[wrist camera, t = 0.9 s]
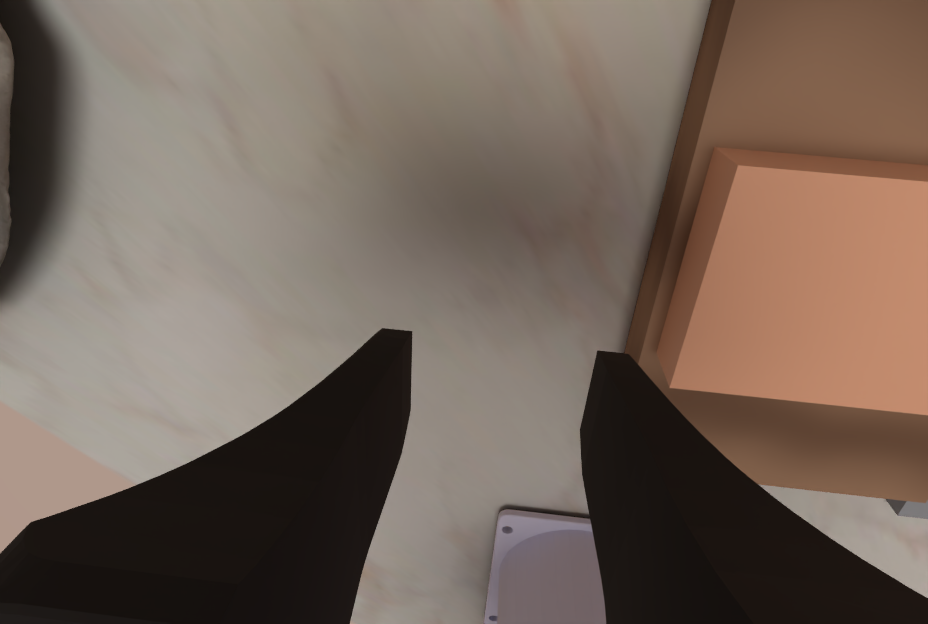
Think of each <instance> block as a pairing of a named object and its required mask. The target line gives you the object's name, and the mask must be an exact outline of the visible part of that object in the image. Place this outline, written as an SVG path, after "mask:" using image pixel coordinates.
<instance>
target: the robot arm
mask: <svg viewBox="0 0 928 624" xmlns="http://www.w3.org/2000/svg"><path fill="white" fill-rule="evenodd" d="M411 363H412V331H404V330H394V329H385V328H382V329H381V330H380V331H378V332H377V333H376V334H375V335H374V336H373V337H372V338H370V339H369V340H368V341H367V342H366V343H365V344H364V345H363V346H362V347H361V348H360V349H358V350H357V351H356V352H355V353H354V354H353V355H352V356H351V357H350V358H348V359H347V360H346V361H345V362H344V363H343V364H341V365H340V366H339V367H338V368H337V369H336V370H334V371H333V372H332V373H331V374H330V375H328V376H327V377H326V378H325V379H324V380H322V381H321V382H320V383H319V384H317V385H316V386H315V387H314V388H312V389H311V390H310V391H308V392H307V393H306V394H304V395H303V396H302V397H300V398H299V399H298V400H296V401H295V402H294V403H292V404H291V405H290V406H288V407H287V408H285V409H284V410H282V411H281V412H279V413H278V414H276V415H275V416H273V417H272V418H270V419H268V420H267V421H265V422H263V423H262V424H260V425H258V426H257V427H255V428H254V429H252V430H250V431H249V432H247V433H245V434H243V435H242V436H240V437H238V438H236V439H234V440H232V441H230V442H228V443H226V444H224V445H222V446H220V447H219V448H217V449H215V450H213V451H211V452H209V453H207V454H205V455H203V456H201V457H199V458H197V459H195V460H193V461H191V462H189V463H187V464H185V465H183V466H180V467H178V468H176V469H174V470H171V471H169V472H167V473H165V474H162V475H160V476H158V477H155V478H153V479H150V480H148V481H145V482H143V483H141V484H138V485H136V486H133V487H131V488H129V489H126V490H123V491H121V492H118V493H115V494H113V495H110V496H107V497H104V498H101V499H99V500H96V501H93V502H90V503H87V504H84V505H81V506H78V507H75V508H72V509H69V510H67V511H64V512H61V513H58V514H55V515H52V516H49V517H46V518H43V519H40V520H36V521H33V522H31V523H30V524H29V525H28V526H27V527H26V528H25V529H24V530H23V531H22V532H21V533H20V534H19V535H18V536H17V537H16V538H15V539H14V540H13V541H12V542H11V543H10V544H9V545H8V546H7V547H6V548H5V549H4V550H3V551H2V553H1V554H0V624H350V620H351V616H352V611H353V607H354V603H355V599H356V595H357V590H358V586H359V582H360V578H361V574H362V570H363V567H364V563H365V560H366V557H367V553H368V550H369V547H370V544H371V541H372V538H373V535H374V533H375V530H376V527H377V524H378V521H379V518H380V515H381V512H382V509H383V506H384V504H385V501H386V498H387V495H388V492H389V489H390V486H391V483H392V480H393V477H394V474H395V471H396V469H397V466H398V463H399V460H400V457H401V454H402V449H403V444H404V440H405V435H406V430H407V425H408V421H409V416H410V409H411ZM580 439H581V460H582V475H583V481H584V487H585V493H586V498H587V504H588V510H589V515H590V519H587V518H578V517H570V516H561V515H553V514H544V513H536V512H527V511H519V510H511V509H506V510H503V511H501V512H500V513H499V515H498V520H497V527H496V534H495V542H494V549H493V556H492V563H491V571H490V578H489V585H488V592H487V600H486V607H485V614H484V621H483V624H928V598H926V597H924V596H923V595H921V594H919V593H917V592H916V591H914V590H912V589H910V588H909V587H907V586H905V585H904V584H902V583H900V582H899V581H897V580H895V579H894V578H892V577H891V576H889V575H887V574H886V573H884V572H882V571H881V570H879V569H877V568H876V567H874V566H873V565H871V564H869V563H868V562H866V561H864V560H863V559H861V558H860V557H858V556H857V555H855V554H854V553H852V552H850V551H849V550H847V549H846V548H844V547H843V546H841V545H840V544H838V543H837V542H835V541H834V540H832V539H831V538H829V537H828V536H826V535H825V534H824V533H822V532H821V531H819V530H818V529H816V528H815V527H814V526H812V525H811V524H809V523H808V522H807V521H805V520H804V519H802V518H801V517H799V516H798V515H797V514H795V513H794V512H792V511H791V510H790V509H788V508H787V507H786V506H784V505H783V504H782V503H781V502H779V501H778V500H777V499H775V498H774V497H773V496H771V495H770V494H769V493H768V492H766V491H765V490H764V489H763V488H762V487H760V486H759V485H758V484H757V483H756V482H754V481H753V480H752V479H751V478H749V477H748V476H747V475H746V474H745V473H743V472H742V471H741V470H740V469H739V468H737V467H736V466H735V465H734V464H733V463H732V462H731V461H730V460H728V459H727V458H726V457H725V456H724V455H723V454H722V453H721V452H720V451H719V450H718V449H717V448H716V447H715V446H714V445H713V444H711V443H710V442H709V441H708V440H707V439H706V438H705V437H704V436H703V435H702V434H701V433H700V432H699V431H698V430H697V429H696V428H695V427H694V426H693V425H692V424H691V423H690V422H689V421H688V420H687V419H686V418H685V417H684V416H683V414H682V413H681V412H680V411H679V410H678V409H677V408H676V407H675V406H674V405H673V404H672V403H671V401H670V400H669V399H668V398H667V397H666V396H665V395H664V394H663V393H662V391H661V390H660V389H659V388H658V387H657V386H656V385H655V383H654V382H653V381H652V380H651V379H650V378H649V377H648V375H647V374H646V373H645V372H644V371H643V370H642V368H641V367H640V366H639V365H638V364H637V363H636V361H635V360H634V359H633V358H632V357H631V356H630V355H629V354H625V353H615V352H606V351H597V355H596V360H595V364H594V369H593V373H592V378H591V382H590V387H589V392H588V396H587V401H586V405H585V410H584V414H583V419H582V423H581V428H580ZM505 526H509V527H505Z"/></svg>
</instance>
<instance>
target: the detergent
mask: <svg viewBox="0 0 928 624" xmlns="http://www.w3.org/2000/svg"><path fill="white" fill-rule="evenodd" d="M14 64H15V63H14V56H13V51H12V45H11V41H10V39H9V38H8V36H7V34H6V32H5V31H4V29H3V27H2V25H1V24H0V268H1V265H2V263H3V260H4V258H5V256H6V253H7V252H6V251H7V249H8V246H9V243H8V242H9V237H10V226H11V221H12V219H11V217H10V211H11V208H10V196H9V194H8V188H9V172H8V166H9V155H10V132H9V129H10V107H11V101H12V96H13V73H14Z"/></svg>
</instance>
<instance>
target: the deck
mask: <svg viewBox="0 0 928 624" xmlns="http://www.w3.org/2000/svg"><path fill="white" fill-rule="evenodd" d="M714 147H720V148H732V149H743V150H755V151H767V152H778V153H790V154H802V155H814V156H825V157H837V158H849V159H860V160H872V161H884V162H895V163H907V164H919V165H928V0H712V1H711V5H710V9H709V13H708V17H707V21H706V25H705V30H704V34H703V38H702V42H701V46H700V50H699V54H698V58H697V62H696V66H695V70H694V74H693V78H692V82H691V86H690V90H689V94H688V98H687V102H686V106H685V110H684V114H683V118H682V122H681V126H680V130H679V134H678V138H677V142H676V146H675V150H674V154H673V158H672V162H671V167H670V171H669V175H668V179H667V183H666V187H665V191H664V195H663V199H662V203H661V207H660V211H659V215H658V219H657V223H656V227H655V231H654V235H653V239H652V243H651V247H650V251H649V255H648V259H647V263H646V267H645V271H644V275H643V279H642V283H641V287H640V291H639V295H638V299H637V304H636V308H635V312H634V316H633V320H632V324H631V328H630V332H629V336H628V340H627V344H626V348H625V352H624V353H625V354H629V355H630V356H631V357H632V358H633V359H634V360H635V361H636V363H637V364H638V365H639V366H640V367H641V368H642V370H643V371H644V372H645V373H646V374H647V375H648V377H649V378H650V379H651V380H652V381H653V382H654V383H655V385H656V386H657V387H658V388H659V389H660V390H661V391H662V393H663V394H664V395H665V396H666V397H667V398H668V399H669V400H670V401H671V403H672V404H673V405H674V406H675V407H676V408H677V409H678V410H679V411H680V412H681V413H682V414H683V416H684V417H685V418H686V419H687V420H688V421H689V422H690V423H691V424H692V425H693V426H694V427H695V428H696V429H697V430H698V431H699V432H700V433H701V434H702V435H703V436H704V437H705V438H706V439H707V440H708V441H709V442H710V443H711V444H713V445H714V446H715V447H716V448H717V449H718V450H719V451H720V452H721V453H722V454H723V455H724V456H725V457H726V458H727V459H728V460H730V461H731V462H732V463H733V464H734V465H735V466H736V467H737V468H739V469H740V470H741V471H742V472H743V473H745V474H746V475H747V476H748V477H749V478H751V479H752V480H753V481H754V482H756V483H757V484H761V485H770V486H778V487H787V488H796V489H805V490H814V491H822V492H831V493H840V494H849V495H858V496H866V497H875V498H884V499H893V500H901V501H910V502H919V503H926V502H927V500H928V415H920V414H911V413H902V412H892V411H883V410H873V409H864V408H855V407H845V406H836V405H826V404H817V403H808V402H798V401H789V400H779V399H770V398H761V397H751V396H742V395H732V394H723V393H714V392H704V391H695V390H685V389H676V388H669V385H668V382H667V380H666V377H665V374H664V372H663V369H662V366H661V364H660V361H659V358H658V356H657V353H656V352H657V349H658V345H659V342H660V338H661V334H662V331H663V327H664V324H665V320H666V317H667V313H668V310H669V306H670V303H671V299H672V296H673V292H674V288H675V285H676V281H677V278H678V274H679V271H680V267H681V264H682V260H683V257H684V253H685V249H686V246H687V242H688V239H689V235H690V232H691V228H692V225H693V221H694V218H695V214H696V211H697V207H698V203H699V200H700V196H701V193H702V189H703V186H704V182H705V179H706V175H707V172H708V168H709V164H710V161H711V157H712V154H713V150H714Z"/></svg>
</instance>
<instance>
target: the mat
mask: <svg viewBox="0 0 928 624" xmlns="http://www.w3.org/2000/svg"><path fill="white" fill-rule="evenodd" d="M887 502H888V503H889V505H890V506H891V507H892V509H893V510H894V511H895V513H896V514H897V515H898V516H906V517H915V518H924V519H928V500H927V502H926V503H919V502H910V501H901V500H893V499H887Z"/></svg>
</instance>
